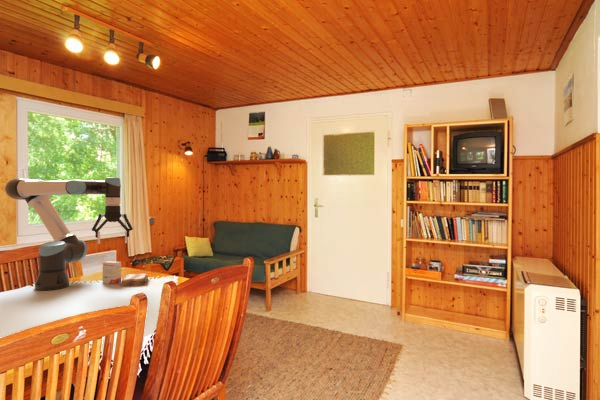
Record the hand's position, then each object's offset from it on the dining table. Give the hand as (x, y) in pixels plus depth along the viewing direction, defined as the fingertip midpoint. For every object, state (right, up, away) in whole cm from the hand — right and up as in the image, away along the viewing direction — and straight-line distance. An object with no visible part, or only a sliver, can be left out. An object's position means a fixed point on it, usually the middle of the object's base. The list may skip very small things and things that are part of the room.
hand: (112, 243), depth 202 cm
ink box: (-1, -22, +1) cm, 22 cm away
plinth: (+11, -22, +2) cm, 25 cm away
